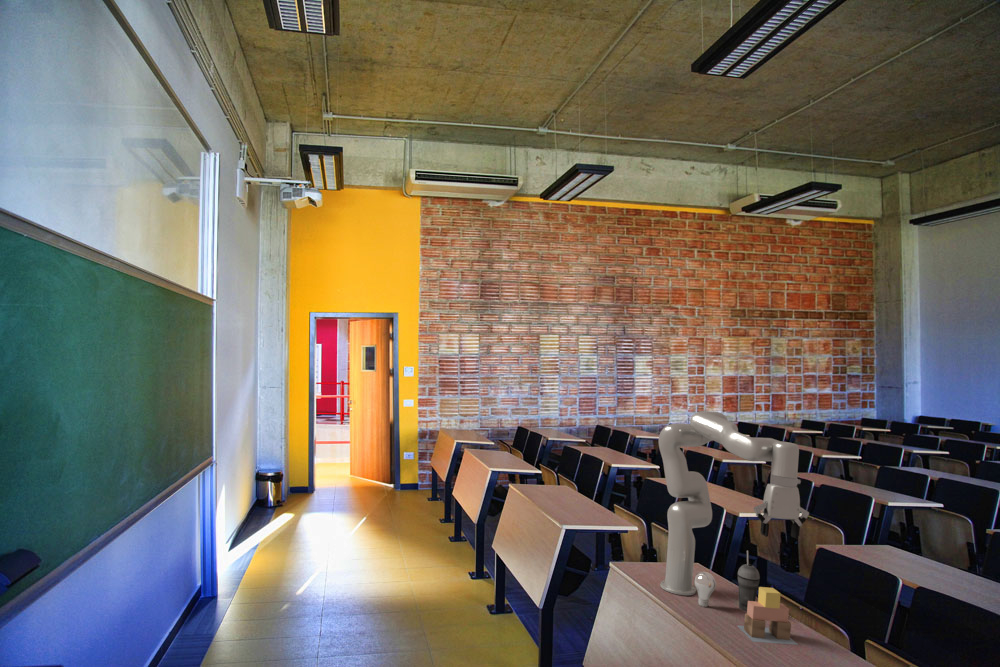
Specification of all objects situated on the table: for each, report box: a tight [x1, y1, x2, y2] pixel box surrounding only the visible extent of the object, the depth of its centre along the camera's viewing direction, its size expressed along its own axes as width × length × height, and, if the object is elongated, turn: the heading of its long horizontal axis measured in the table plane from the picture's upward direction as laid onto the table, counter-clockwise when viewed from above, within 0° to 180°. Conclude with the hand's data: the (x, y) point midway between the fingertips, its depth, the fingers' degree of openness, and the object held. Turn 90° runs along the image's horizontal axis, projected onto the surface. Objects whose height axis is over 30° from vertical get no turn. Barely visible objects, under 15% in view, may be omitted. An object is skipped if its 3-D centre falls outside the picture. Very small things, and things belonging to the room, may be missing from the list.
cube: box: [757, 586, 781, 609], centre depth 187 cm, size 4×4×4 cm
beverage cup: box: [736, 550, 761, 612], centre depth 207 cm, size 7×7×20 cm
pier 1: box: [743, 612, 766, 638], centre depth 186 cm, size 5×4×5 cm
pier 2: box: [768, 620, 792, 640], centre depth 187 cm, size 5×4×5 cm
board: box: [736, 624, 799, 646], centre depth 186 cm, size 11×14×1 cm
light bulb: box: [693, 571, 717, 608], centre depth 206 cm, size 7×7×12 cm
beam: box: [746, 600, 790, 622], centre depth 187 cm, size 11×4×4 cm, turn 92°
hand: (779, 536), depth 190 cm, fingers open, 9 cm apart
